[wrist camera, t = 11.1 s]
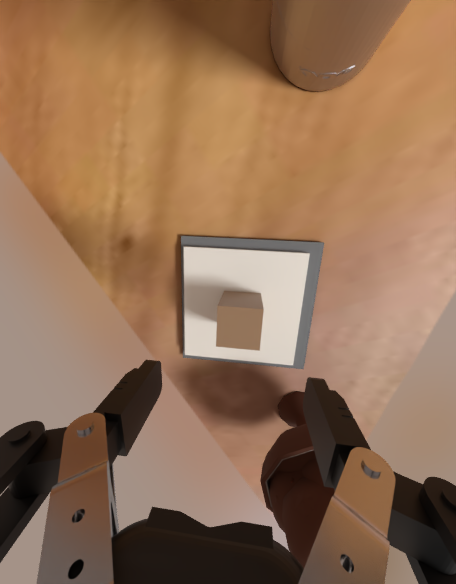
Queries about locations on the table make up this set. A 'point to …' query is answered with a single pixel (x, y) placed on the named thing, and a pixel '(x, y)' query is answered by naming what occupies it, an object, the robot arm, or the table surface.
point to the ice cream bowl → (295, 481)
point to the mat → (268, 245)
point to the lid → (243, 303)
